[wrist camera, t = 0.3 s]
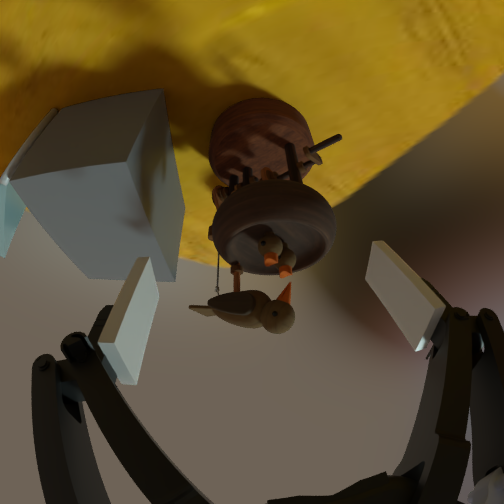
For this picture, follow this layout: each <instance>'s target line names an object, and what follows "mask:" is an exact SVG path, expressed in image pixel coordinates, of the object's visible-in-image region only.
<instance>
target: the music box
mask: <svg viewBox="0 0 504 504" xmlns="http://www.w3.org/2000/svg"><path fill="white" fill-rule="evenodd" d="M341 139H342V136H341V135H340V134H337V135H335V136H333V137H330V138H328V139H326V140H324V141H322V142H320V143H318V144H316V145H314V142H313V139H312V136H311V133H310V130H309V127H308V124H307V122H306V120H305V119H304V117H303V116H302V115H301V114H300V112H298V111H297V110H296V109H295V108H294V107H292V106H290V105H289V104H287V103H284V102H282V101H279V100H275V99H270V98H254V99H248V100H244V101H241V102H239V103H236V104H234V105H233V106H231V107H229V108H228V109H227V110H225V111H224V112H223V113H222V114H221V115H220V116H219V118H218V119H217V120H216V122H215V124H214V126H213V129H212V134H211V140H210V147H209V162H210V166H211V168H212V170H213V172H214V173H215V175H216V176H217V177H218V178H219V179H220V180H221V181H222V182H224V183H225V184H227V185H228V186H229V187H222V186H216V187H214V188H213V191H212V200H213V203H214V204H215V206H216V209H217V212H216V214H215V216H214V219H213V223H212V225H211V226H210V227H209V232H208V239H209V240H211V241H213V242H214V245H215V247H216V249H217V251H218V265H217V286H216V289H215V292H217V294H218V296H216V297H213V298H211V299H210V300H208V306H200V305H199V306H198V305H190V306H189V309H191V310H193V311H196V312H198V313H200V314H202V315H205V316H213V315H217V316H218V317H219V318H221V319H223V320H224V321H226V322H228V323H231V324H234V325H237V326H240V327H245V328H259V327H262V326H263V327H264V328H265V329H266V330H267V331H269V332H271V333H275V334H281V333H284V332H286V331H288V330H289V329H290V328H291V326H292V325H293V323H294V320H295V313H294V310H293V308H292V306H291V305H290V299H291V282H290V283H289V284H288V285H287V286H286V288H285V289H284V290H283V291H282V293H281V294H280V295H279V297H278V298H277V299H276V300H273V301H271V299H270V298H269V297H268V296H267V295H266V294H265V293H263V292H261V291H257V290H247V291H241V292H240V275H241V274H243V271H244V272H248V273H252V274H259V275H280V278H284V277H286V276H288V275H292V273H293V272H297V271H300V270H303V269H306V268H308V267H310V266H312V265H314V264H316V263H317V262H319V261H320V260H321V259H322V258H323V257H324V256H325V255H326V254H327V253H328V251H329V250H330V248H331V247H332V244H333V242H334V239H335V235H336V220H335V215H334V213H333V210H332V208H331V206H330V205H329V203H328V202H327V200H326V199H325V198H324V197H323V196H322V195H321V194H320V193H318V192H317V191H316V190H314V189H312V188H311V187H309V186H307V185H304V184H303V182H302V179H303V178H304V177H305V176H306V175H307V173H308V172H309V171H310V169H311V167H312V165H314V164H317V165H321V164H322V159H321V157H320V156H319V155H318V154H317V153H316V152H317V151H319V150H321V149H323V148H325V147H328V146H330V145H332V144H334V143H336V142H338V141H340V140H341ZM219 254H220V256H221V257H222V258H223V259H224V260H225V261H226V262H227V263H229V264H230V265H231V274H233V275H234V292H231V293H226V294H222V295H219V292H218V291H219V287H218V277H219Z"/></svg>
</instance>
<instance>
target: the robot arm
mask: <svg viewBox="0 0 504 504" xmlns="http://www.w3.org/2000/svg"><path fill="white" fill-rule="evenodd" d="M365 280H366V281H367V282H368V284H369V285H370V287H371V288H372V289H373V291H374V292H375V293H376V295H377V296H378V298H379V299H380V300H381V302H382V303H383V305H384V306H385V307H386V309H387V310H388V312H389V313H390V315H391V316H392V318H393V319H394V321H395V322H396V323H397V325H398V326H399V328H400V329H401V331H402V332H403V334H404V335H405V337H406V338H407V340H408V341H409V343H410V345H411V346H412V348H413V349H414V351H418V350H421V349H424V348H426V347H427V345H428V343H429V341H430V339H431V341H432V342H433V346H432V348H431V350H430V352H429V353H428V355H427V357H426V359H428V357H429V356H430V359H429V365H428V370H427V376H426V380H425V385H424V390H423V394H422V398H421V402H420V406H419V410H418V413H417V417H416V421H415V424H414V427H413V431H412V434H411V437H410V440H409V443H408V446H407V449H406V451H405V454H404V457H403V459H402V461H401V462H400V464H399V465H398V467H397V468H396V469H395V471H394V473H393V475H387V473H386V471H385V472H383V473H380V474H378V475H375V476H372V477H369V478H366V479H363V480H360V481H358V482H356V483H355V484H353V485H351V486H350V487H348V488H346V489H344V490H342V491H340V492H338V493H336V494H334V495H330V496H294V497H288V498H281V499H273V500H268V501H267V504H464V503H462V502H459V501H457V499H458V496H459V493H460V490H461V486H462V483H463V479H464V476H465V472H466V468H467V464H468V459H469V454H470V449H471V444H470V441H466V439H465V434H466V428H467V422H468V414H469V406H470V415H471V426H472V450H473V453H472V454H473V455H472V460H473V461H472V463H473V464H472V465H473V481H474V486H475V488H474V490H473V491H471V492H470V493H469V495H468V502H469V503H472V504H504V331H503V329H502V326H501V324H500V321H499V319H498V317H497V315H496V314H495V313H494V312H493V311H492V310H490V309H487V308H483V309H481V310H480V312H479V314H478V316H470V315H469V314H468V312H466V311H465V310H464V309H462V308H459V307H454V308H453V307H452V306H451V305H450V304H449V303H448V302H447V301H446V300H445V299H444V297H443V296H442V295H441V294H439V292H438V291H437V290H436V289H435V288H434V287H433V286H432V285H431V284H430V283H429V282H428V281H426V280H425V279H423V278H420V277H419V276H418V275H417V274H416V273H415V272H414V271H413V270H412V269H411V268H410V267H409V266H408V265H407V264H406V263H405V262H404V261H403V260H402V259H401V258H400V257H399V256H398V255H397V254H396V253H395V252H394V251H393V250H392V249H391V248H390V247H389V246H388V245H387V244H386V243H385V242H383V241H373V242H372V248H371V253H370V259H369V263H368V268H367V273H366V278H365ZM158 300H159V292H158V288H157V284H156V280H155V276H154V272H153V268H152V264H151V259H150V257H138V258H137V259H136V261H135V263H134V265H133V267H132V269H131V271H130V273H129V275H128V277H127V279H126V281H125V283H124V285H123V287H122V289H121V291H120V293H119V295H118V298H117V300H116V302H115V304H114V305H106V306H105V307H104V308H103V309H102V310H101V311H100V312H99V314H98V316H97V318H96V321H95V322H94V324H93V327H92V329H91V331H90V333H89V335H88V337H87V336H86V335H85V333H82V332H74V333H71V334H69V335H68V336H66V337H65V338H64V339H63V341H62V343H61V351H62V352H63V354H64V355H65V357H66V358H67V359H66V360H60V361H56V360H55V358H54V357H53V356H52V355H50V354H43V355H41V356H39V357H38V358H37V359H36V360H35V362H34V363H33V366H32V391H31V393H32V422H33V435H34V444H35V452H36V459H37V465H38V471H39V475H40V481H41V485H42V490H43V493H44V498H45V502H46V504H111V503H110V500H109V498H108V495H107V492H106V490H105V487H104V484H103V481H102V479H101V476H100V473H99V470H98V467H97V463H96V460H95V456H94V453H93V449H92V445H91V441H90V437H89V433H88V429H87V425H86V420H85V415H84V410H83V404H82V401H86V402H87V404H88V407H89V409H90V411H91V412H92V414H93V416H94V418H95V420H96V422H97V424H98V426H99V427H100V429H101V431H102V433H103V435H104V436H105V438H106V440H107V442H108V443H109V445H110V447H111V448H112V450H113V451H114V453H115V455H116V456H117V458H118V459H119V461H120V462H121V464H122V465H123V467H124V468H125V470H126V471H127V472H128V474H129V475H130V477H131V478H132V479H133V481H134V482H135V483H136V485H137V486H138V487H139V489H140V490H141V491H142V493H143V494H144V495H145V496H146V498H147V499H148V500H149V501H150V502H151V504H214V503H213V502H212V501H211V500H209V499H208V498H207V497H206V496H205V495H204V494H203V493H202V492H201V491H200V490H199V489H198V488H197V487H196V486H195V485H194V484H193V483H192V482H191V481H190V480H189V479H188V478H187V477H186V476H185V475H184V474H183V473H182V472H181V471H180V470H179V468H178V467H177V466H176V465H175V464H174V463H173V462H172V461H171V459H170V458H169V457H168V456H167V455H166V454H165V452H164V451H163V450H162V449H161V448H160V446H159V445H158V444H157V443H156V441H155V440H154V439H153V438H152V436H151V435H150V434H149V432H148V431H147V430H146V428H145V427H144V426H143V425H142V423H141V422H140V420H139V419H138V418H137V416H136V415H135V413H134V412H133V411H132V409H131V408H130V406H129V405H128V403H127V402H126V400H125V399H124V397H123V396H122V394H121V392H120V391H119V389H118V388H117V386H116V385H115V382H116V378H117V377H118V379H119V380H120V382H121V383H122V384H129V385H137V381H138V377H139V373H140V368H141V364H142V359H143V355H144V351H145V347H146V343H147V339H148V336H149V332H150V327H151V324H152V321H153V317H154V313H155V310H156V306H157V303H158ZM483 346H484V348H485V349H484V352H482V348H483Z"/></svg>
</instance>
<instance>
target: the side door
mask: <svg viewBox="0 0 504 504" xmlns="http://www.w3.org/2000/svg"><path fill="white" fill-rule="evenodd" d="M57 114H58V111H57V109H55V108H53V109H51V110H50V112H49V113H48V114H47V115H46V116H45V117H44V118H43V120H42V121H41V122H40V123H39V124H38V126H37V127H36V128H35V129H34V131H33V132H32V133H31V134H30V136H29V137H28V138H27V140H26V141H25V142H24V144H23V145H22V146H21V148H20V149H19V150H18V152H17V153H16V155H15V156H14V158H13V159H12V160H11V162H10V163H9V165H8V166H7V168H6V170H5V171H4V173H3V174H2V176H1V178H0V256H2V257H4V258H5V256H6V253H7V251H8V248H9V245H10V243H11V240H12V238H13V235H14V233H15V230H16V228H17V226H18V224H19V221H20V219H21V217H22V214H23V212H24V210H25V208H26V205H25V204H24V202H23V201H22V200H21V198H20V197H19V195H18V194H17V192H16V191H15V190H14V188H13V187H12V185H11V184H10V182H9V180H10V179H11V177H12V176H13V174H14V172H15V171H16V169H17V167H18V166H19V164H20V163H21V161H22V160H23V158H24V157H25V155H26V154H27V152H28V151H29V150H30V148H31V147H32V145H33V144H34V143H35V141H36V140H37V139H38V137H39V136H40V135H41V133H42V132H43V131H44V130H45V128H46V127H47V126H48V124H49V123H50V122H51V121H52V120H53V118H54V117H55V116H56V115H57Z"/></svg>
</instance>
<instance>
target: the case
mask: <svg viewBox="0 0 504 504" xmlns="http://www.w3.org/2000/svg"><path fill="white" fill-rule="evenodd" d="M9 182H10V184H11V185H12V187H13V188H14V190H15V191H16V192H17V194H18V195H19V197H20V198H21V200H22V201H23V202H24V204H25V205H26V206H27V208H28V209H29V210H30V212H31V213H32V214H33V216H34V217H35V218H36V219H37V221H38V222H39V223H40V224H41V226H42V227H43V228H44V229H45V231H46V232H47V233H48V234H49V235H50V236H51V238H52V239H53V240H54V241H55V243H56V244H57V245H58V246H59V247H60V248H61V249H62V251H63V252H64V253H65V254H66V255H67V256H68V257H69V258H70V259H71V261H72V262H73V263H74V264H75V265H76V266H77V267H78V268H79V269H80V270H81V271H82V272H83V273H84V274H85V275H86V276H87V277H88V278H90V279H110V280H111V279H112V280H126V279H127V277H128V275H129V273H130V271H131V269H132V267H133V265H134V263H135V261H136V259H137V258H138V257H150V259H151V264H152V268H153V272H154V276H155V280H156V281H162V282H163V281H164V282H165V281H166V282H175V279H176V271H177V262H178V254H179V247H180V239H181V232H182V226H183V219H184V213H185V205H184V200H183V196H182V191H181V186H180V181H179V176H178V171H177V166H176V161H175V156H174V150H173V145H172V139H171V133H170V128H169V122H168V116H167V109H166V103H165V96H164V89H155V90H147V91H140V92H133V93H127V94H121V95H116V96H111V97H106V98H101V99H97V100H92V101H88V102H84V103H80V104H76V105H73V106H69V107H65V108H62V109H61V110H60V111H59V113H58V114H57V115H56V116H55V117H54V118H53V120H52V121H51V122H50V123H49V124H48V126H47V127H46V128H45V130H44V131H43V132H42V133H41V135H40V136H39V137H38V139H37V140H36V141H35V143H34V144H33V145H32V147H31V148H30V150H29V151H28V152H27V154H26V155H25V157H24V158H23V160H22V161H21V163H20V164H19V166H18V167H17V169H16V171H15V172H14V174H13V176H12V177H11V179H10V180H9Z"/></svg>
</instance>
